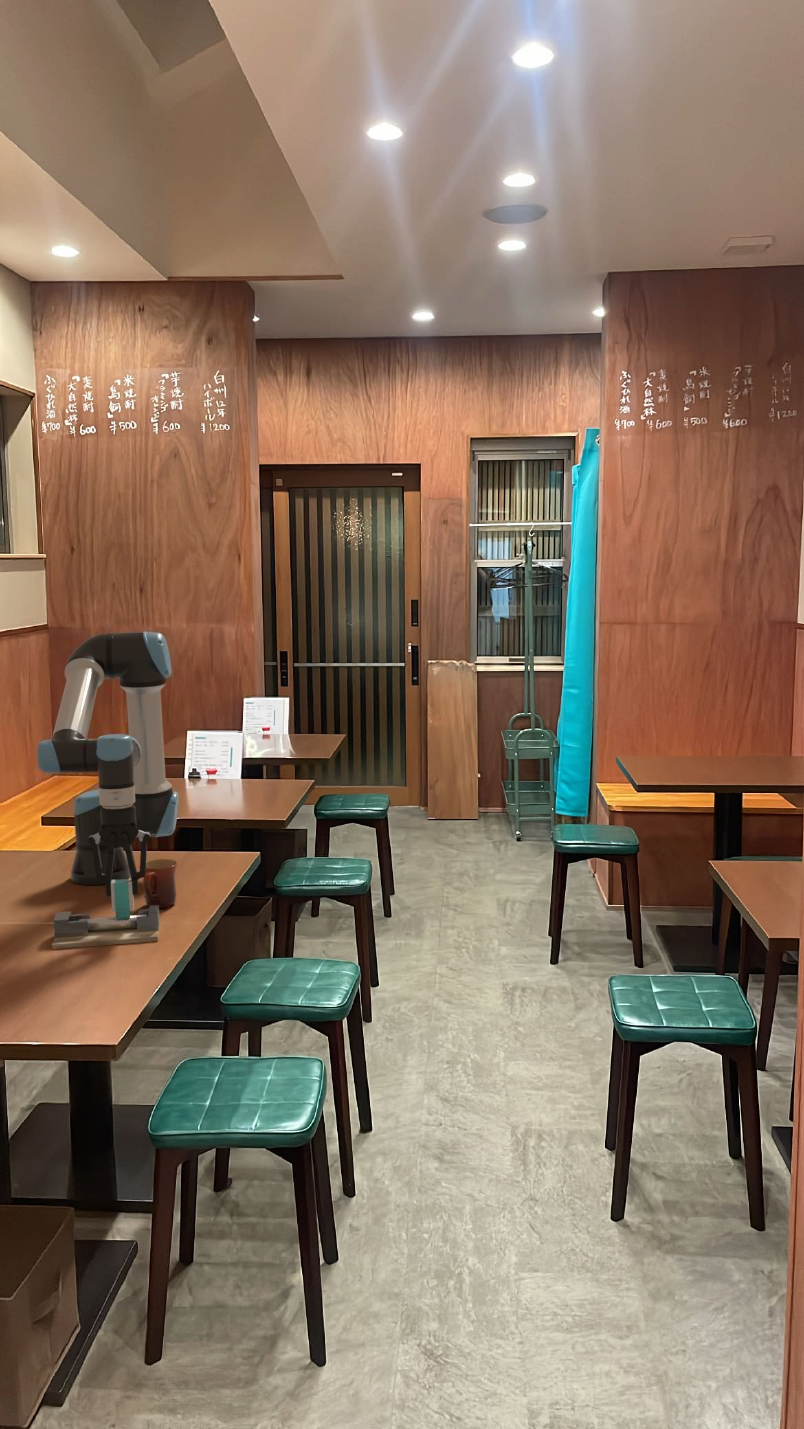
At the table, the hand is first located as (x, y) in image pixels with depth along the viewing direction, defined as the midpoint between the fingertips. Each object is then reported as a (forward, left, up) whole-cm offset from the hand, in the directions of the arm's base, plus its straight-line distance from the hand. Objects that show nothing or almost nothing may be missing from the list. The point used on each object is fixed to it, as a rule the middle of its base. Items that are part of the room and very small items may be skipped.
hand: (123, 909), depth 237 cm
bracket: (0, -11, -5) cm, 12 cm away
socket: (0, +5, -5) cm, 7 cm away
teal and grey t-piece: (0, -2, -4) cm, 5 cm away
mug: (-18, +7, -6) cm, 20 cm away
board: (0, -3, -6) cm, 7 cm away
